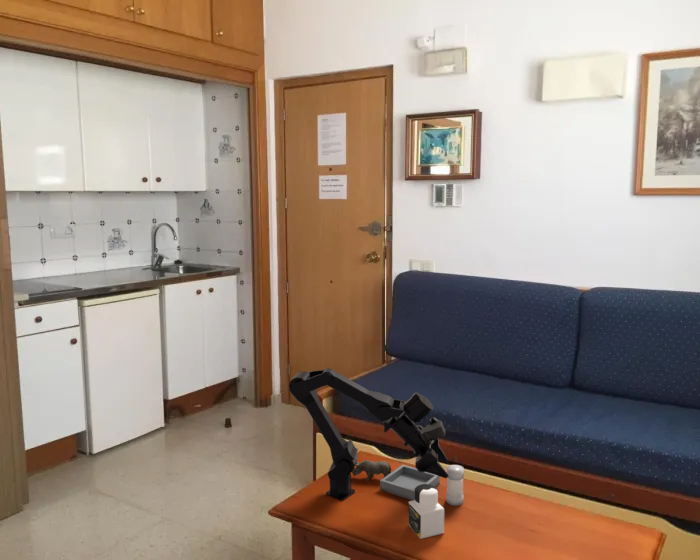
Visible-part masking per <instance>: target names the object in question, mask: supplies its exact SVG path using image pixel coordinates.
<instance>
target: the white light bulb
mask: <svg viewBox="0 0 700 560" xmlns="http://www.w3.org/2000/svg"><path fill="white" fill-rule="evenodd" d="M446 472H447V474H448V475H449V476H448V477H447V478H446V479H447V485H446V487H447V489H446V503H447V504H449V505H450V506H460V505H463V504H464V478H465V477H464V475H465V468H464V466H462V465H459V464H449V465H448V466H447V467H446Z"/></svg>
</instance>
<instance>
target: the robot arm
mask: <svg viewBox="0 0 700 560" xmlns="http://www.w3.org/2000/svg"><path fill="white" fill-rule="evenodd" d="M326 386H328V387H330V388H332V389H333V390H335V391H337V392H339V393H340V394H342V395H345V397H347V398H349V399H351V400H353V401H355V402H357V403H358V404H360V405H361V406H362V407H364V408H365V410H366V411H367V412H369V414H370V415H372V416H373V417H374V418H375V419H377V420H378V421H380V422H382V423H383V432H384V433H387V432H388V431H389V430H392V431H393V432H394V433H395V434H396V436H398V437H399V438H400V439H401V440H402V441H403V445H404V446H405V447H407V446H408V447H409V448H411V450H412V451H413V455H414V456H415V464H414V468H416V469H417V470H418V471H419V472H427V473H431V474H434V475H437V476H440V478H443V479H447V477H448V476H449V475H448V474H447V470H445V469H444V467H443V466H442V465H441V463H444V464H445V465H447V464H448V463H449V462H450V461H449V459H448V457H447V456H446V454H445V452H444V451H443V449H442V448H441V446H440V444H439V442H440V441H439V440H440V439H441V438H444V437H445V436H446V432H447V431H446V429H445V427H444V425H443V422H442V421H441V420H440V419H437V418H436V417H435V416H433V417H431V418H429V424H427V425H426V426H423V425H421V424H415V423H420V422H421V421H422V420H424V419H425V418H426V416H428V415H429V414H431V412H432V411H433V410H434V405H433V404H432V402H431V401H430V400H429V399H428V398H427V397H426V396H424V395H422V394H421V393H419V392H417V391H415V392H414V393H413V394H412V396H410V397H409V398H408V399H407V400H402V399H395V398H393V397H392V396H390V395H388V394H384V393H381V392H378V391H372V390H370V389H368V388H365V387H364V386H362V385H360V384H358V383H357V382H355V381H353V380H351V379H350V378H348V377H346V376H344V375H342V374H340V373H339V372H337V371H336V370H334V369H333V368H330V367H329V368H325V369H321V370H320V369H319V370H317V369H316V370H312V371H309V372H308V371H299V372H297V373H296V374H295V375H294V376H293V377H292V379H291V380H290V382H289V384H288V391H289V392H290V394H291V396H293V397H294V398H295V400H296V401H297V402H298V403H300V404H301V405H303V406H304V407H305V408H306V410H307V412H308V413H309V415H310V417H311V418H312V420H313V422H314V423H315V425H316V427H317V428H318V430H319V432H320V433H321V436H323V439H324V440H325V442H326V444H327V445H328V447H329V451H330V456H331V460H332V463H331V464H330V467H329V469H328V472H327V476H328V478H329V490H327V491H326V492H325V495H326V496H328V497H332V498H334V499H338V500H341V501H344V500H345V499H347V498H349V497H350V496H351V495H353V494H354V493H356V490H355V489H354V488H352V475H351V474H352V471H353V469H354V468H356V466H355V464H356V462H358V457H359V453H358V449H359V448H357V447H356V446H355V445H354V442H353V440H352V439H349V440H348V441H347V440H346V439H344V438H343V436H342V435H341V433H340V432H339V430H338V428H337V426H336V425H335V423H334V422H333V420H332V418H331V417H330V415H329V413H328V412H327V410H326V408H325V405H324V404H323V403H322V401H321V400H320V397H319V396H318V389H320V388H323V387H326ZM439 461H440V462H441V463H440V462H439Z"/></svg>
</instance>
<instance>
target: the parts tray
mask: <svg viewBox="0 0 700 560" xmlns="http://www.w3.org/2000/svg"><path fill="white" fill-rule="evenodd" d="M440 478H441V477H440V476H437V475H434V474H431V473H427V472H419V471H418V470H417V469H416V468H415V467H412V466H410V465H407V464H401V465H400V466H399V467H397V468H396V469H394V470H393V471H391V473H390V474H389V475H387V476H386V477H384V476H383V478H381V479H380V480H379V482H380V483H379V490H380V491H384V492H386V493H389V494H391V495H395V496H398V497H402V498H404V499H407V500H410V501H413V500H415V488H416V487H417V486H418V485H421V484H429V485H433V486H435V487H436V488H437V487H438V486H439V485H440Z"/></svg>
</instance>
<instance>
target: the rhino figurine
mask: <svg viewBox="0 0 700 560" xmlns="http://www.w3.org/2000/svg"><path fill="white" fill-rule="evenodd" d="M362 472H365V474H366V476H367V477H366V479H365V480H366V481H368V482H369V481H371V480H372V478H373V477H375V476H376V475H377V476H378V475H380V474H381V475H383V478H384V477H386V476H387V475H389V474H390V473H391V472H392V467H391V463H389V462H387V461H383V460H379V461H372V460H369V459H366V460H365V459H364V460H363V461H361V462H359V461H357V462H356V464H355V467H354V469H353V471H352V472H351V474H353V476H354V477H356V476H358V475H360V474H361V473H362Z"/></svg>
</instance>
